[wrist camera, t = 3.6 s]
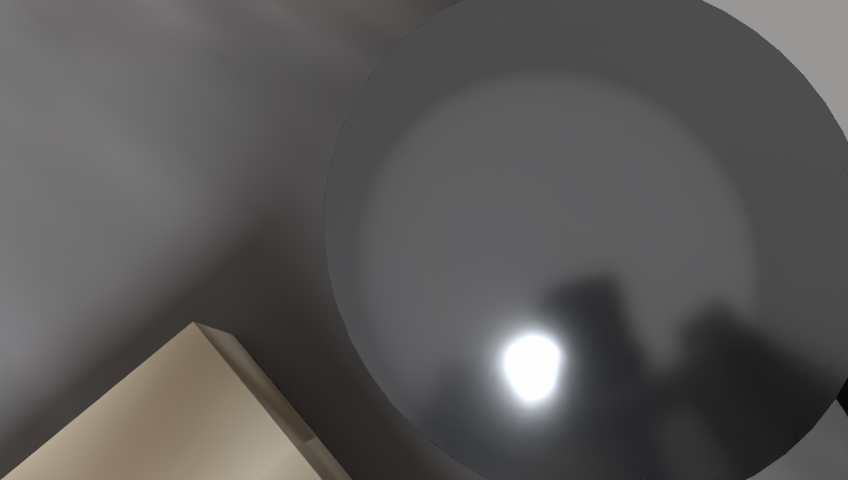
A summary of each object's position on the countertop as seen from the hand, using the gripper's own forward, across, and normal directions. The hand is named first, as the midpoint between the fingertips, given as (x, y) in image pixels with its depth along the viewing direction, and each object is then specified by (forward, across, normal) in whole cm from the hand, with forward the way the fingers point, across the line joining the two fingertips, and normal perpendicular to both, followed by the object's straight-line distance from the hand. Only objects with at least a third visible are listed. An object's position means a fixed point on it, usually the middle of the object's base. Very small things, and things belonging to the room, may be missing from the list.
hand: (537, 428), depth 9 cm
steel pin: (+8, 0, +5) cm, 9 cm away
